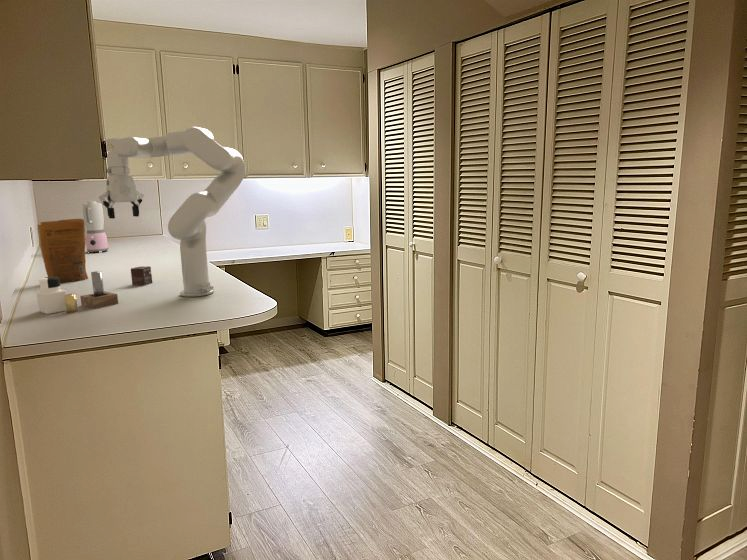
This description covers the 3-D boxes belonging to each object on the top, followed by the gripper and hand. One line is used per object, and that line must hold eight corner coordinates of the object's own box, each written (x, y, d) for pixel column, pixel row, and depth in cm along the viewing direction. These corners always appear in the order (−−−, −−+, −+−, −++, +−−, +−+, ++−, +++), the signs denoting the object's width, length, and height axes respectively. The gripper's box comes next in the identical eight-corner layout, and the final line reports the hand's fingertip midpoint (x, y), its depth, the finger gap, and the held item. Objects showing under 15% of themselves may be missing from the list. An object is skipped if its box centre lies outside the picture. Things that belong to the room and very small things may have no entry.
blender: (92, 251, 354) (85, 201, 348) (111, 250, 355) (105, 200, 349) (81, 254, 338) (74, 202, 332) (102, 253, 339) (95, 201, 333)
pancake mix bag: (93, 279, 251) (85, 218, 246) (45, 285, 240) (36, 221, 234) (90, 277, 256) (82, 217, 251) (43, 283, 245) (34, 220, 240)
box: (144, 285, 233) (142, 268, 232) (131, 285, 235) (130, 268, 233) (152, 282, 239) (151, 266, 238) (140, 282, 240) (138, 266, 239)
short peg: (79, 311, 190) (77, 294, 189) (69, 313, 188) (67, 296, 187) (74, 310, 192) (72, 293, 191) (64, 312, 190) (62, 295, 189)
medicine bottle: (60, 307, 197) (55, 274, 195) (68, 310, 192) (64, 276, 190) (38, 311, 192) (33, 278, 189) (46, 314, 187) (41, 280, 185)
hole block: (118, 303, 201) (117, 293, 200) (93, 308, 194) (92, 298, 193) (105, 300, 206) (104, 291, 206) (81, 305, 199) (80, 296, 199)
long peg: (107, 303, 201) (103, 271, 198) (98, 305, 198) (93, 273, 196) (102, 302, 203) (98, 270, 200) (93, 304, 200) (89, 272, 198)
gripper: (101, 172, 198) (107, 219, 201) (145, 171, 211) (150, 215, 215) (91, 172, 202) (97, 219, 206) (135, 171, 216) (140, 215, 219)
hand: (124, 217), depth 210 cm, fingers open, 9 cm apart
